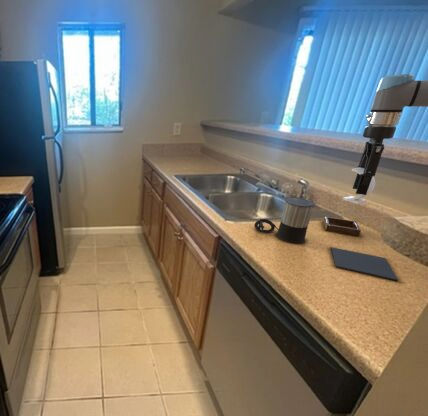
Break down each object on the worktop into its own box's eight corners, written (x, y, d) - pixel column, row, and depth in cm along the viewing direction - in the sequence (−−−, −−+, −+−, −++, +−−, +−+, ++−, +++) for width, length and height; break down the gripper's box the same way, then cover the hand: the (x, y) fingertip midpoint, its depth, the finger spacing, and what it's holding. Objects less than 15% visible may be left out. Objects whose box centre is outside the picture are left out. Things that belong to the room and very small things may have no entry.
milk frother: (310, 244, 100) (321, 206, 94) (263, 241, 102) (271, 204, 97) (291, 228, 113) (300, 193, 107) (250, 225, 115) (257, 192, 110)
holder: (354, 226, 113) (356, 221, 112) (358, 236, 105) (360, 230, 104) (323, 221, 118) (325, 216, 117) (325, 230, 110) (327, 224, 109)
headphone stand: (350, 198, 105) (360, 167, 100) (369, 203, 99) (380, 170, 95) (342, 199, 103) (352, 168, 99) (361, 204, 98) (372, 172, 94)
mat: (384, 259, 90) (385, 257, 90) (397, 281, 79) (398, 279, 79) (330, 248, 97) (331, 247, 97) (335, 267, 86) (336, 265, 86)
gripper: (361, 123, 101) (342, 183, 109) (371, 127, 86) (349, 197, 94) (389, 124, 97) (367, 186, 105) (405, 128, 82) (379, 200, 90)
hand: (359, 191), depth 100 cm, fingers closed on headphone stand, 6 cm apart
